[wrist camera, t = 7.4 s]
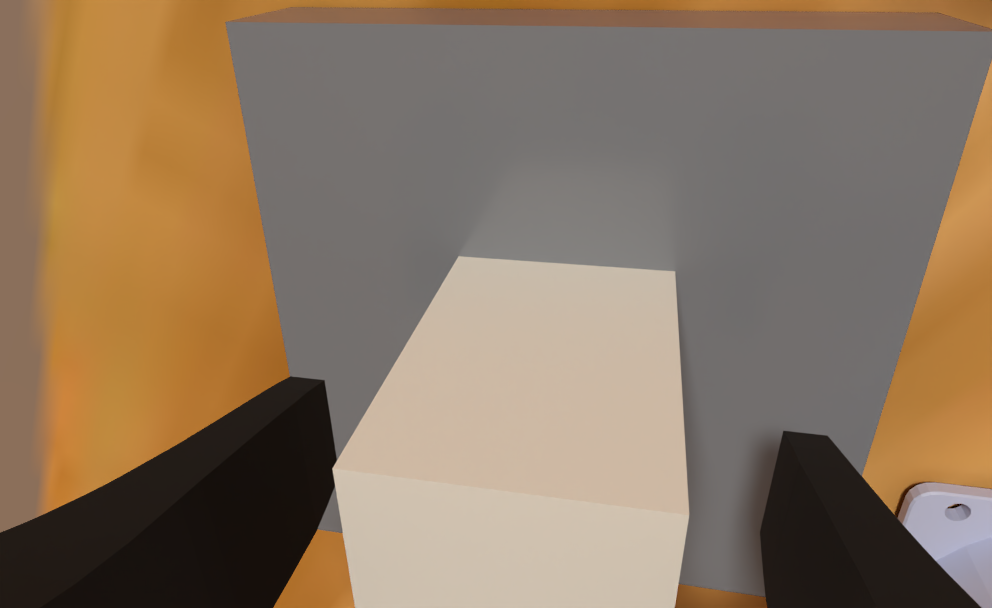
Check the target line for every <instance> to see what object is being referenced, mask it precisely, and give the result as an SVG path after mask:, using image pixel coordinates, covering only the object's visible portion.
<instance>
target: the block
mask: <svg viewBox="0 0 992 608" xmlns="http://www.w3.org/2000/svg"><path fill="white" fill-rule="evenodd" d="M332 470H333V476H334V482H335V488H336V494H337V500H338V506H339V512H340V518H341V524H342V530H343V536H344V543H345V549H346V555H347V561H348V567H349V573H350V579H351V585H352V591H353V597H354V603H355V608H675V603H676V596H677V590H678V584H679V577H680V571H681V565H682V558H683V552H684V546H685V539H686V533H687V527H688V520H689V501H688V484H687V467H686V449H685V432H684V415H683V398H682V380H681V363H680V346H679V328H678V311H677V294H676V277H675V271H662V270H648V269H633V268H619V267H605V266H591V265H576V264H562V263H548V262H533V261H519V260H505V259H491V258H476V257H462V256H458V258H457V260H456V262H455V263H454V265H453V267H452V268H451V270H450V272H449V273H448V275H447V277H446V278H445V280H444V282H443V283H442V285H441V287H440V288H439V290H438V292H437V293H436V295H435V297H434V298H433V300H432V302H431V304H430V305H429V307H428V309H427V310H426V312H425V314H424V315H423V317H422V319H421V320H420V322H419V324H418V325H417V327H416V329H415V330H414V332H413V334H412V335H411V337H410V339H409V340H408V342H407V344H406V346H405V347H404V349H403V351H402V352H401V354H400V356H399V357H398V359H397V361H396V362H395V364H394V366H393V367H392V369H391V371H390V372H389V374H388V376H387V377H386V379H385V381H384V383H383V384H382V386H381V388H380V389H379V391H378V393H377V394H376V396H375V398H374V399H373V401H372V403H371V404H370V406H369V408H368V409H367V411H366V413H365V414H364V416H363V418H362V419H361V421H360V423H359V425H358V426H357V428H356V430H355V431H354V433H353V435H352V436H351V438H350V440H349V441H348V443H347V445H346V446H345V448H344V450H343V451H342V453H341V455H340V456H339V458H338V460H337V462H336V463H335V465H334V467H333V468H332Z"/></svg>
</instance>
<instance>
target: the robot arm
mask: <svg viewBox="0 0 992 608" xmlns="http://www.w3.org/2000/svg"><path fill="white" fill-rule="evenodd" d="M336 462H337V457H336V450H335V444H334V437H333V431H332V424H331V418H330V411H329V405H328V398H327V392H326V386H325V380H319V379H310V378H301V377H292V376H290V377H289V378H287V379H285V380H283V381H281V382H279V383H277V384H276V385H274V386H272V387H271V388H269V389H267V390H266V391H264V392H262V393H261V394H259V395H257V396H256V397H254V398H252V399H251V400H249V401H248V402H246V403H244V404H243V405H241V406H240V407H238V408H236V409H235V410H233V411H232V412H230V413H228V414H227V415H225V416H223V417H222V418H220V419H219V420H217V421H215V422H214V423H212V424H210V425H209V426H207V427H205V428H204V429H202V430H201V431H199V432H197V433H196V434H194V435H192V436H191V437H189V438H188V439H186V440H184V441H183V442H181V443H179V444H178V445H176V446H174V447H172V448H170V449H169V450H167V451H165V452H163V453H162V454H160V455H158V456H156V457H154V458H153V459H151V460H149V461H147V462H146V463H144V464H142V465H140V466H138V467H137V468H135V469H133V470H131V471H130V472H128V473H126V474H124V475H123V476H121V477H119V478H117V479H115V480H113V481H111V482H109V483H108V484H106V485H104V486H102V487H100V488H98V489H96V490H94V491H92V492H90V493H88V494H86V495H84V496H82V497H80V498H78V499H76V500H73V501H71V502H69V503H67V504H65V505H63V506H61V507H59V508H56V509H54V510H52V511H50V512H48V513H46V514H44V515H41V516H39V517H37V518H35V519H32V520H30V521H28V522H26V523H23V524H21V525H18V526H16V527H13V528H11V529H9V530H6V531H3V532H1V533H0V608H273V607H274V605H275V603H276V602H277V600H278V598H279V596H280V595H281V593H282V591H283V589H284V588H285V586H286V584H287V583H288V581H289V579H290V577H291V576H292V574H293V572H294V570H295V569H296V567H297V565H298V563H299V561H300V560H301V558H302V556H303V554H304V553H305V551H306V549H307V547H308V545H309V544H310V542H311V540H312V538H313V536H314V535H315V533H316V531H317V529H318V527H319V524H320V522H321V520H322V517H323V515H324V513H325V510H326V508H327V505H328V503H329V500H330V498H331V495H332V493H333V490H334V488H335V482H334V476H333V470H332V468H333V467H334V465H335V463H336ZM953 504H962V505H961V506H959V507H956V508H949V509H948V507H949V506H951V505H953ZM760 541H761V554H762V566H763V577H764V587H765V597H766V602H767V607H768V608H992V489H986V488H977V487H969V486H961V485H952V484H944V483H935V482H933V483H922V484H919V485H916V486H915V487H913V488H912V489H910V490H909V491H908V493H907V494H906V496H905V499H904V502H903V504H902V507H901V510H900V513H899V516H898V518H897V517H896V516H895V515H894V514H893V513H892V512H891V510H890V509H889V508H888V507H887V506H886V505H885V503H884V502H883V501H882V500H881V499H880V498H879V496H878V495H877V494H876V493H875V492H874V490H873V489H872V488H871V487H870V486H869V485H868V483H867V482H866V481H865V480H864V478H863V477H862V476H861V475H860V474H859V472H858V471H857V470H856V469H855V468H854V466H853V465H852V464H851V463H850V462H849V460H848V459H847V458H846V457H845V456H844V454H843V453H842V452H841V451H840V450H839V448H838V447H837V446H836V445H835V444H834V443H833V441H832V440H831V439H830V438H829V437H828V436H827V435H818V434H809V433H800V432H791V431H783V434H782V439H781V443H780V447H779V451H778V456H777V460H776V464H775V469H774V473H773V477H772V482H771V486H770V490H769V495H768V499H767V503H766V507H765V512H764V516H763V520H762V525H761V529H760Z"/></svg>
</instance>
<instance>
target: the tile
mask: <svg viewBox="0 0 992 608" xmlns="http://www.w3.org/2000/svg"><path fill="white" fill-rule="evenodd" d="M226 27H227V33H228V38H229V44H230V49H231V55H232V60H233V66H234V71H235V77H236V82H237V88H238V93H239V99H240V104H241V110H242V115H243V120H244V126H245V131H246V137H247V142H248V148H249V153H250V159H251V164H252V170H253V175H254V181H255V186H256V192H257V197H258V203H259V208H260V214H261V219H262V225H263V230H264V236H265V241H266V247H267V252H268V258H269V263H270V269H271V274H272V280H273V285H274V291H275V296H276V302H277V307H278V313H279V318H280V324H281V329H282V335H283V340H284V345H285V351H286V356H287V362H288V367H289V373H290V376H292V377H301V378H310V379H319V380H325V386H326V392H327V398H328V405H329V411H330V418H331V424H332V431H333V437H334V444H335V450H336V457H337V460H338V458H339V456H340V455H341V453H342V451H343V450H344V448H345V446H346V445H347V443H348V441H349V440H350V438H351V436H352V435H353V433H354V431H355V430H356V428H357V426H358V425H359V423H360V421H361V419H362V418H363V416H364V414H365V413H366V411H367V409H368V408H369V406H370V404H371V403H372V401H373V399H374V398H375V396H376V394H377V393H378V391H379V389H380V388H381V386H382V384H383V383H384V381H385V379H386V377H387V376H388V374H389V372H390V371H391V369H392V367H393V366H394V364H395V362H396V361H397V359H398V357H399V356H400V354H401V352H402V351H403V349H404V347H405V346H406V344H407V342H408V340H409V339H410V337H411V335H412V334H413V332H414V330H415V329H416V327H417V325H418V324H419V322H420V320H421V319H422V317H423V315H424V314H425V312H426V310H427V309H428V307H429V305H430V304H431V302H432V300H433V298H434V297H435V295H436V293H437V292H438V290H439V288H440V287H441V285H442V283H443V282H444V280H445V278H446V277H447V275H448V273H449V272H450V270H451V268H452V267H453V265H454V263H455V262H456V260H457V258H458V256H462V257H476V258H491V259H505V260H519V261H533V262H548V263H562V264H576V265H591V266H605V267H619V268H633V269H648V270H662V271H675V277H676V294H677V311H678V328H679V346H680V363H681V380H682V398H683V415H684V432H685V449H686V467H687V484H688V501H689V520H688V527H687V533H686V539H685V546H684V552H683V558H682V565H681V571H680V577H679V584H683V585H689V586H696V587H703V588H709V589H716V590H722V591H729V592H736V593H742V594H749V595H755V596H762V597H765V587H764V577H763V566H762V554H761V541H760V529H761V525H762V520H763V516H764V512H765V507H766V503H767V499H768V495H769V490H770V486H771V482H772V477H773V473H774V469H775V464H776V460H777V456H778V451H779V447H780V443H781V439H782V434H783V431H791V432H800V433H809V434H818V435H827V436H828V437H829V438H830V439H831V440H832V441H833V443H834V444H835V445H836V446H837V447H838V448H839V450H840V451H841V452H842V453H843V454H844V456H845V457H846V458H847V459H848V460H849V462H850V463H851V464H852V465H853V466H854V468H855V469H856V470H857V471H858V472H859V474H860V475H861V476H862V474H863V470H864V467H865V464H866V461H867V458H868V454H869V451H870V448H871V445H872V442H873V438H874V435H875V432H876V429H877V425H878V422H879V419H880V416H881V413H882V409H883V406H884V403H885V400H886V397H887V393H888V390H889V387H890V384H891V381H892V377H893V374H894V371H895V368H896V365H897V361H898V358H899V355H900V352H901V349H902V345H903V342H904V339H905V336H906V332H907V329H908V326H909V323H910V320H911V316H912V313H913V310H914V307H915V304H916V300H917V297H918V294H919V291H920V288H921V284H922V281H923V278H924V275H925V272H926V268H927V265H928V262H929V259H930V255H931V252H932V249H933V246H934V243H935V239H936V236H937V233H938V230H939V227H940V223H941V220H942V217H943V214H944V211H945V207H946V204H947V201H948V198H949V195H950V191H951V188H952V185H953V182H954V178H955V175H956V172H957V169H958V166H959V162H960V159H961V156H962V153H963V150H964V146H965V143H966V140H967V137H968V134H969V130H970V127H971V124H972V121H973V118H974V114H975V111H976V108H977V105H978V102H979V98H980V95H981V92H982V89H983V85H984V82H985V79H986V76H987V73H988V69H989V66H990V63H991V60H992V29H990V28H986V27H983V26H980V25H977V24H973V23H970V22H967V21H963V20H960V19H957V18H954V17H950V16H947V15H944V14H941V13H907V12H789V11H670V10H551V9H433V8H314V7H290V8H286V9H281V10H277V11H272V12H268V13H263V14H259V15H254V16H250V17H245V18H241V19H236V20H232V21H228V22H226ZM318 529H319V530H326V531H332V532H339V533H343V530H342V524H341V518H340V512H339V506H338V500H337V494H336V488H334V490H333V493H332V495H331V498H330V500H329V503H328V505H327V508H326V510H325V513H324V515H323V517H322V520H321V522H320V524H319V527H318Z"/></svg>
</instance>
